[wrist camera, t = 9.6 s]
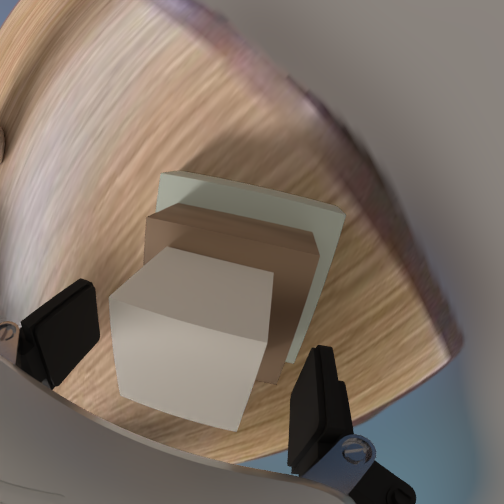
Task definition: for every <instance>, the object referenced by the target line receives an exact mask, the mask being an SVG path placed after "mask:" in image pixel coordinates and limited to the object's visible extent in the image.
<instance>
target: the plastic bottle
mask: <svg viewBox="0 0 504 504" xmlns="http://www.w3.org/2000/svg"><path fill="white" fill-rule="evenodd" d="M4 148H5V138H4V132H3V130H2V128H1V127H0V164H1V162H2V159H3V155H4Z"/></svg>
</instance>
